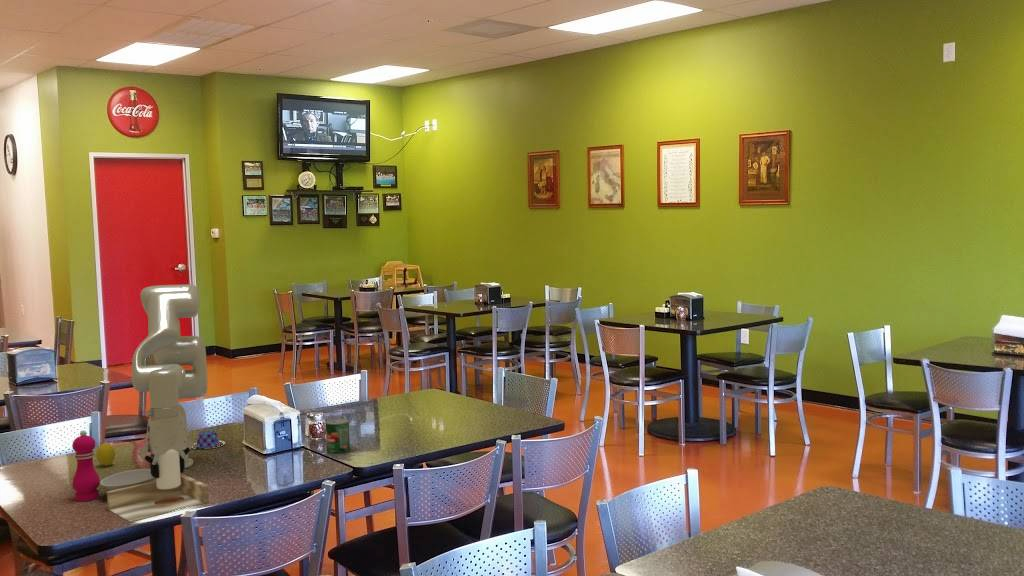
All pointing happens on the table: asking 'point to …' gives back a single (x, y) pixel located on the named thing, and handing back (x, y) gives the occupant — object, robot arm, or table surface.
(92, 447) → the pepper mill
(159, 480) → the can
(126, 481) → the dish
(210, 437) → the blue patterned low dome
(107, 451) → the lemon
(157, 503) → the gold shallow open box
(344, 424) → the canned tomato
